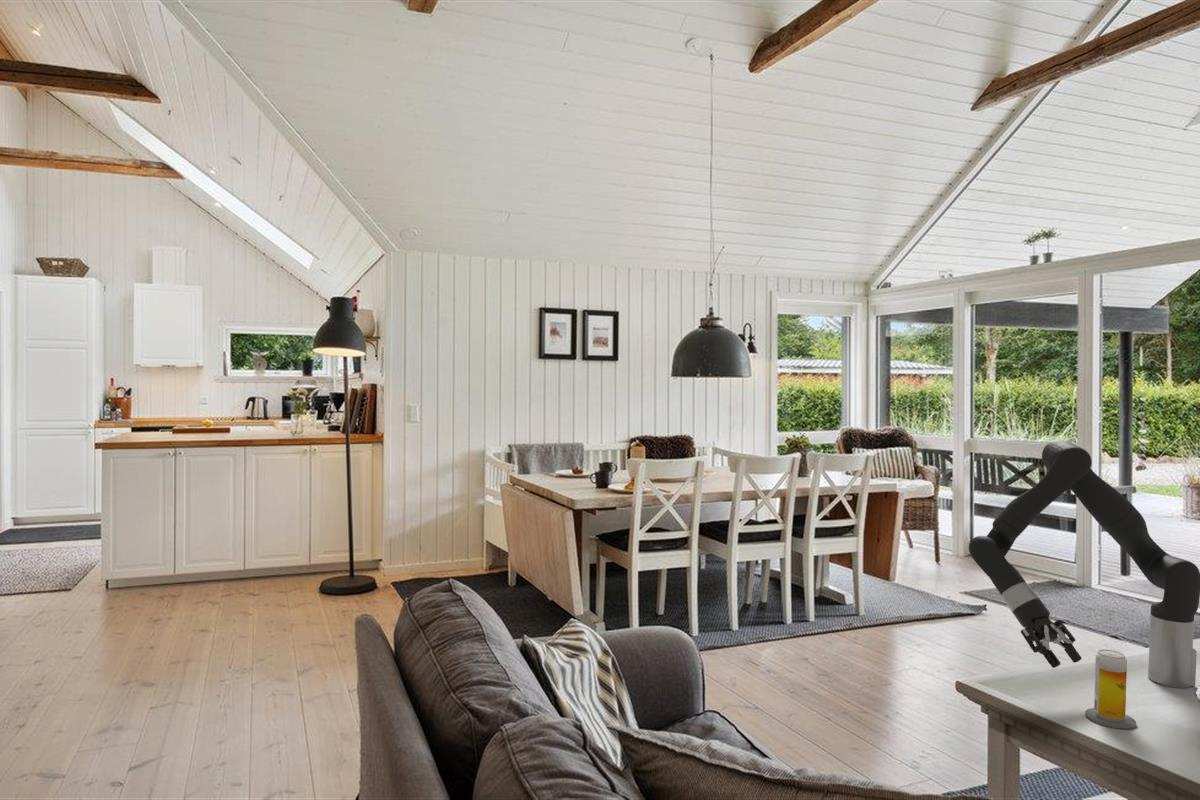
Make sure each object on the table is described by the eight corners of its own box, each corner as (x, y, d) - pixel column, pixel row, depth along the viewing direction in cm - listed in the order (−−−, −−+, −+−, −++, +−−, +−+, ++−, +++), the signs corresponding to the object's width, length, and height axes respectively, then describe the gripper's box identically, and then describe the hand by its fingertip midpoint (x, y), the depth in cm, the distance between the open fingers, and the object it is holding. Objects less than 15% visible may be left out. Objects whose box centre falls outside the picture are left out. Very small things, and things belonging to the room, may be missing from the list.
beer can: (1130, 723, 174) (1132, 659, 174) (1100, 721, 176) (1102, 656, 175) (1118, 712, 180) (1119, 650, 180) (1089, 709, 182) (1091, 647, 181)
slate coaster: (1118, 711, 183) (1118, 708, 183) (1146, 730, 173) (1146, 727, 173) (1075, 709, 183) (1075, 707, 183) (1101, 728, 173) (1101, 726, 173)
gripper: (1017, 600, 191) (1061, 661, 181) (1052, 594, 197) (1096, 652, 187) (997, 615, 196) (1039, 675, 186) (1032, 608, 202) (1073, 666, 192)
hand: (1067, 663), depth 187 cm, fingers open, 8 cm apart
